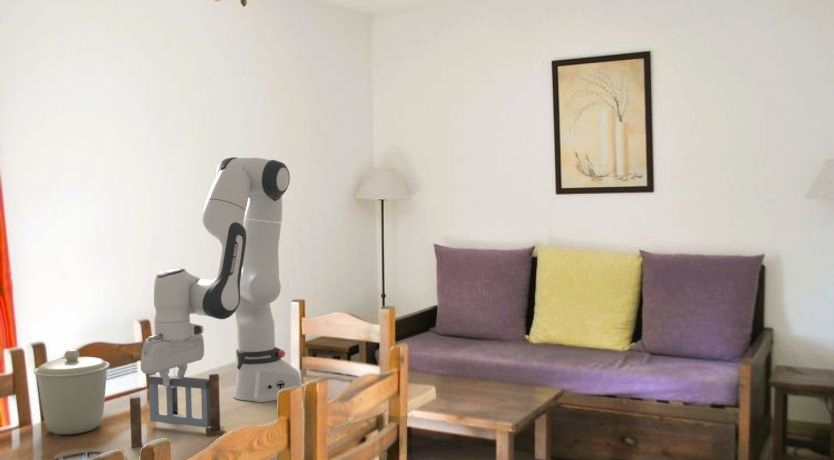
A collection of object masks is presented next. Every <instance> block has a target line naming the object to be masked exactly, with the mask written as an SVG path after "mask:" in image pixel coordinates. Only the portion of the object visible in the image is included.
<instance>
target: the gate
mask: <svg viewBox="0 0 834 460" xmlns="http://www.w3.org/2000/svg"><path fill="white" fill-rule="evenodd" d="M168 376H169V378H170V379H172V385H171V386H168V387H166V386H165V387H166V412H165V413H164V412H160V410H159V409H160V408H159V407H160V404H159V403H160V402H159V386H163V379H162V377H161V376H160V374H149V375H148V376H147V381H148V382H147V383H148V392H149V393H148V394H149V395H148V398H149V399H148V400H149V421H150V422H153V423H162V424H163V423H164V424H172V425H182V426H191V427H200V428H205V429H206V428H210V394H209V378H198V377H197V378H196V377H186V376H184V377H176V375H175V376H173V375H168ZM172 386H177V388H178V387H180V388H184V389H185V415H183V414H179V415H175V414H173V404H172ZM192 389H200V393H201V394H200V395H201V396H200V398H201V416H193V415H192V414H193V413H192V412H193V410H192V409H193V408H192V407H193V406H192Z"/></svg>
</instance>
